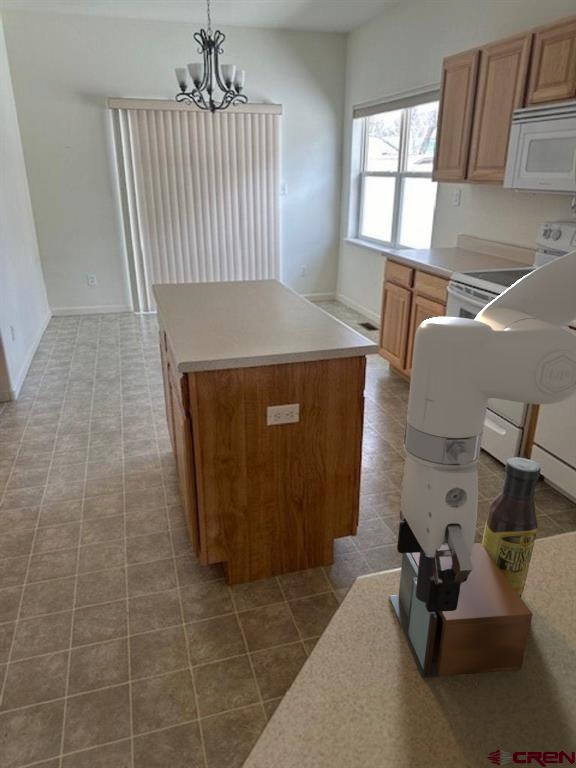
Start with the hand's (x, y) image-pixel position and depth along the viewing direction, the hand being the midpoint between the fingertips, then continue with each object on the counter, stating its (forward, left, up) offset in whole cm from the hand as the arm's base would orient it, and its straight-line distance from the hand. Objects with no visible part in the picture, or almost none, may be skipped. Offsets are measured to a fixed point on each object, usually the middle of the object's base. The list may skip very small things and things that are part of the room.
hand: (424, 578), depth 60 cm
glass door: (0, 0, -11) cm, 11 cm away
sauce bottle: (-15, -9, -11) cm, 21 cm away
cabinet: (-7, -3, -11) cm, 13 cm away
